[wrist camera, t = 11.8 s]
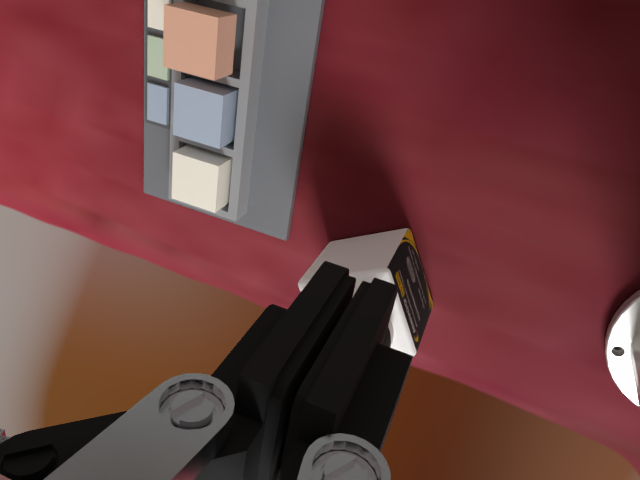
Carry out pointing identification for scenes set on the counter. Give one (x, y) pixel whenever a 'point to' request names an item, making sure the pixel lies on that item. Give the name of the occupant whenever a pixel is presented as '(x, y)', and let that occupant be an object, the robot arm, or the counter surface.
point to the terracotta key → (199, 40)
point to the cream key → (201, 177)
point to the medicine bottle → (386, 279)
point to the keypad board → (242, 107)
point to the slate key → (205, 111)
